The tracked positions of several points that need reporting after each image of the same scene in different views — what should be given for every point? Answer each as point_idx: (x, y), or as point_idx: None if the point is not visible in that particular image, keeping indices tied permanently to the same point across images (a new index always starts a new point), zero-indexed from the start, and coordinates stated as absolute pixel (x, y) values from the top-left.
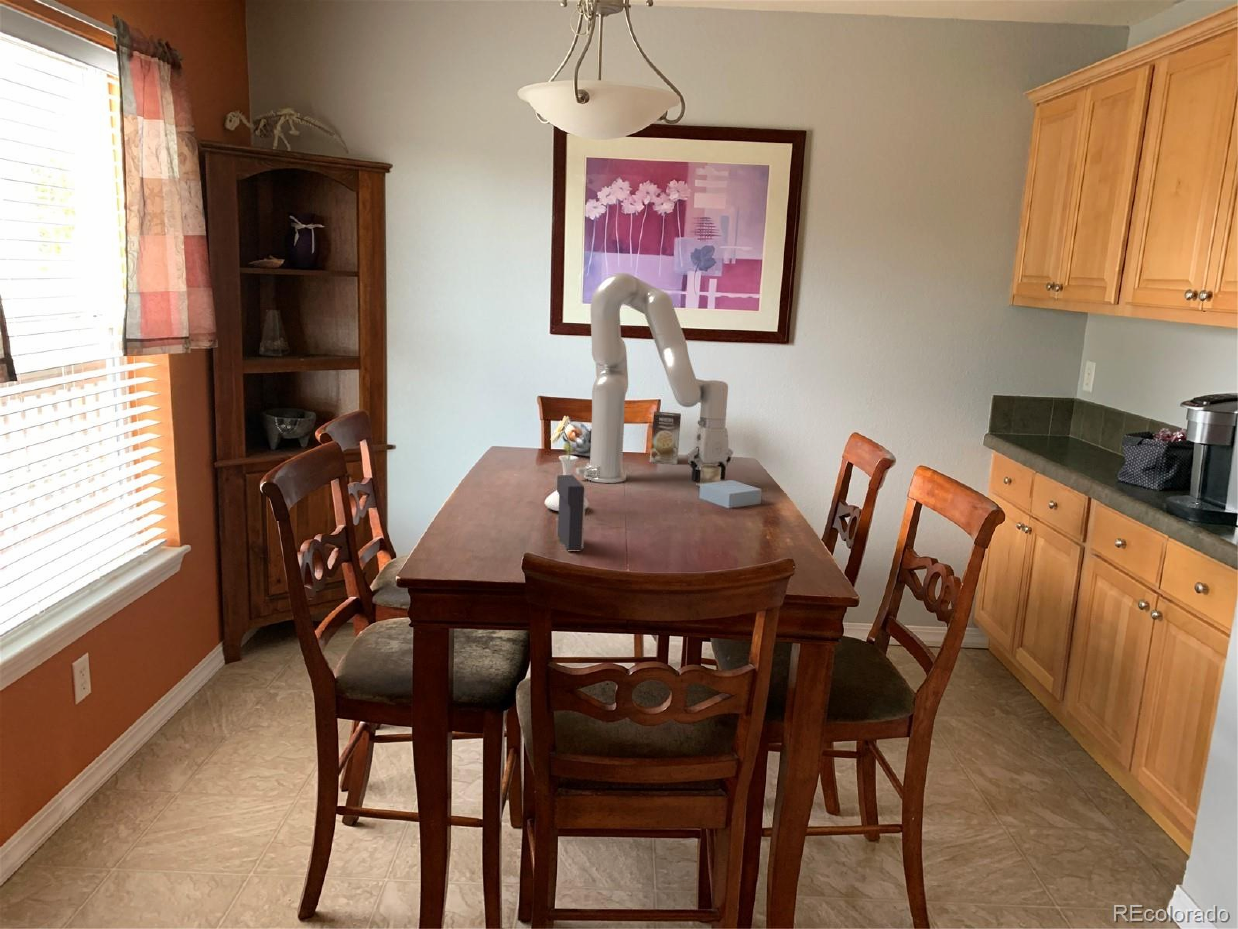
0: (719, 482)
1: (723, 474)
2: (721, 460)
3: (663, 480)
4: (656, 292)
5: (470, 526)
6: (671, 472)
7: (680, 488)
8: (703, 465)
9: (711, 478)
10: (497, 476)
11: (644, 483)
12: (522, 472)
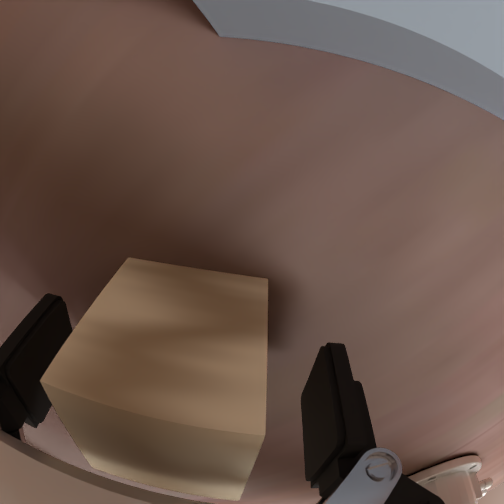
0: (486, 31)
1: (38, 325)
2: (6, 454)
3: None
4: None
5: None
6: None
7: (407, 362)
8: (187, 485)
9: (211, 328)
10: (495, 483)
11: (416, 448)
12: None
